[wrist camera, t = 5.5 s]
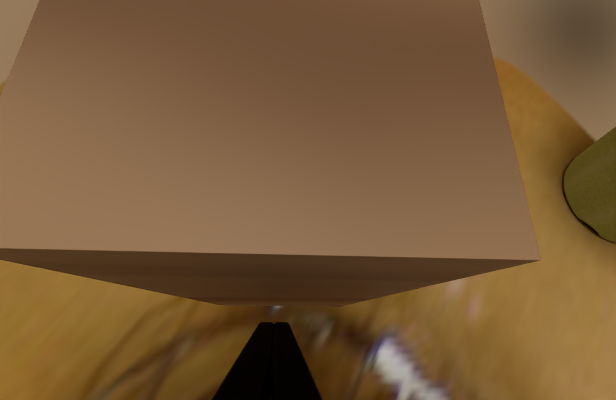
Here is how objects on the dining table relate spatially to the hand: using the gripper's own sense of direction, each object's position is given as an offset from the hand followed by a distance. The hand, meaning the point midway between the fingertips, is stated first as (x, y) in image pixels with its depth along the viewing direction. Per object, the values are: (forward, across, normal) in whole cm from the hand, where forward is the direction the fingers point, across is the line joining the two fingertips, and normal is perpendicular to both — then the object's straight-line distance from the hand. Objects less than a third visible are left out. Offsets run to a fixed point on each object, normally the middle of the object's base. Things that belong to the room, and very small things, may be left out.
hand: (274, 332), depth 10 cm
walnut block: (+8, 0, +2) cm, 8 cm away
